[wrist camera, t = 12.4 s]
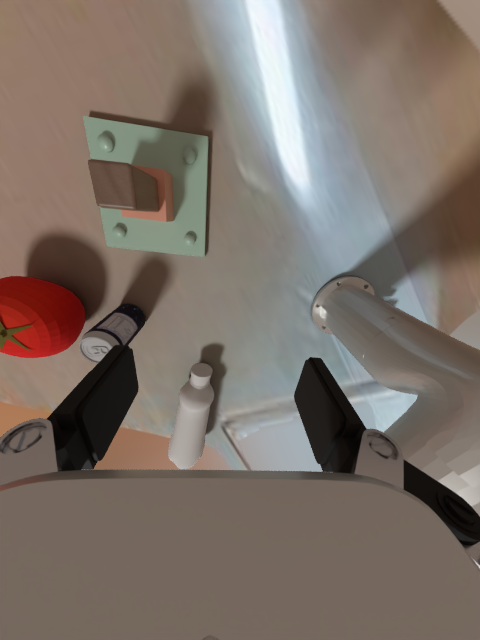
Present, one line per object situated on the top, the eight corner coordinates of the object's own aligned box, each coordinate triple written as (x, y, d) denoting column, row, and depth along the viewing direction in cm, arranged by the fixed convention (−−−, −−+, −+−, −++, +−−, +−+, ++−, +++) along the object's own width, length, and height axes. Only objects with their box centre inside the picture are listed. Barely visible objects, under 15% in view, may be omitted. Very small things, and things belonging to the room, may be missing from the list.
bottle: (208, 451, 57) (230, 370, 45) (185, 481, 49) (204, 393, 37) (185, 432, 60) (200, 351, 48) (160, 457, 53) (170, 369, 40)
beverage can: (114, 302, 38) (69, 334, 28) (144, 302, 39) (111, 334, 28) (121, 327, 41) (83, 366, 30) (149, 327, 41) (121, 365, 31)
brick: (172, 175, 29) (164, 169, 25) (173, 221, 32) (166, 221, 28) (129, 169, 28) (114, 162, 25) (134, 216, 31) (122, 216, 27)
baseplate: (208, 138, 28) (207, 134, 26) (205, 256, 35) (204, 257, 34) (87, 119, 26) (79, 113, 25) (110, 245, 34) (104, 247, 32)
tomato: (31, 328, 40) (-37, 367, 30) (14, 261, 34) (-79, 281, 24) (99, 340, 42) (57, 380, 32) (94, 278, 36) (40, 303, 26)
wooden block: (130, 209, 27) (95, 207, 20) (125, 174, 25) (84, 157, 18) (160, 212, 27) (136, 211, 20) (157, 177, 26) (130, 162, 19)
